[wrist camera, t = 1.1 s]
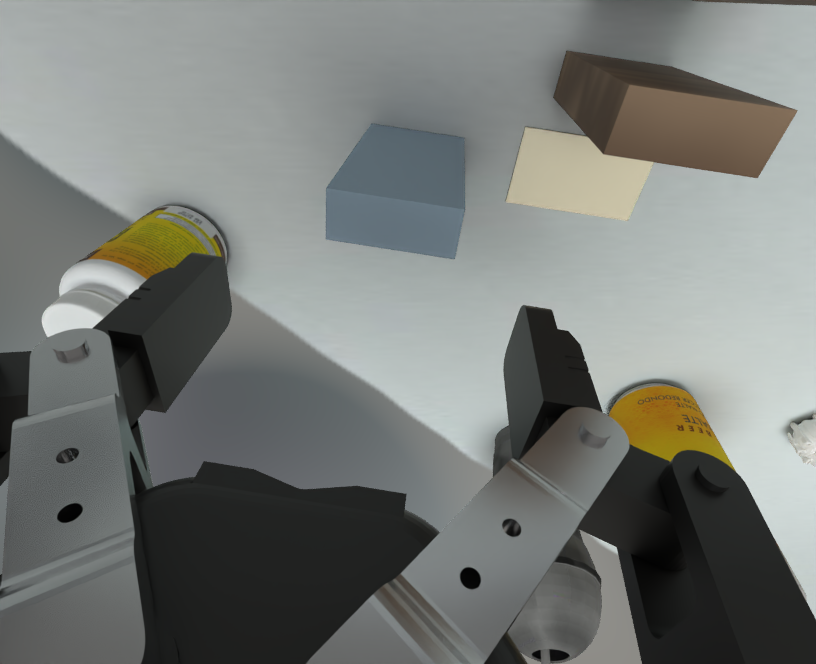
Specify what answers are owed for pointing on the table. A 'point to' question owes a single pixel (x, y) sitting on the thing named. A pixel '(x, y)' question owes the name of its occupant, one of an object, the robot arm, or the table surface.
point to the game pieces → (805, 440)
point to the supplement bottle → (129, 265)
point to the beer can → (667, 424)
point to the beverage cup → (557, 596)
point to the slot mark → (575, 176)
